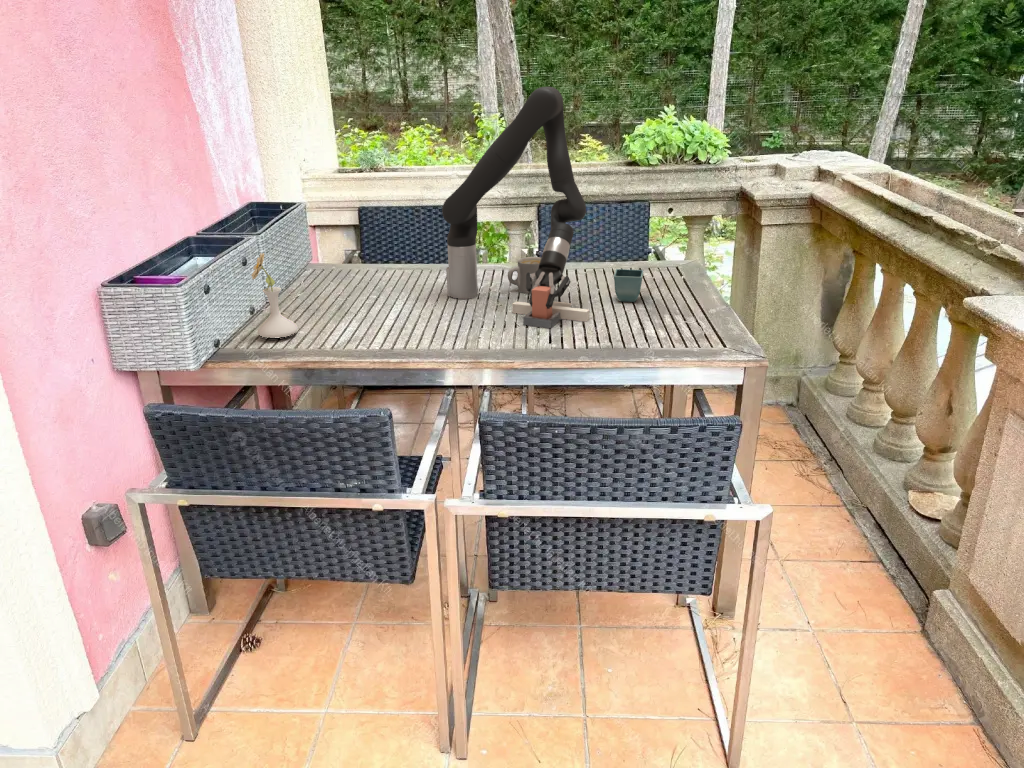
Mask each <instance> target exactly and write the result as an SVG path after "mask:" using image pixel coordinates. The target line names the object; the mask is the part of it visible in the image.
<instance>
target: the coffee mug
mask: <svg viewBox="0 0 1024 768" xmlns="http://www.w3.org/2000/svg"><path fill="white" fill-rule="evenodd" d="M541 257H542V256H541ZM541 257H538V256H529V257H527V256H526V257H522V258H521V257H520V258H518V259H517V266H513V267H510V268H509V269H508V272H507V280H508V282H509V283H510V284H511V285H514V286H516V287H517V291H518V292H520V293H522V292H523V294H529V292H528V291H527V289H526V274H527V273H528V272H529V273H530V274H533V273H535V272H536V271H537V270H538V268H539V263H540V260H541ZM514 272H516V274H517V277H516V279H513V277H512V276H513V273H514ZM536 281H537V278H536V277H535V278H534V281H532V288H533V287H534V285H535V282H536Z"/></svg>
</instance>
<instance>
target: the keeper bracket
mask: <svg viewBox="0 0 1024 768" xmlns="http://www.w3.org/2000/svg"><path fill="white" fill-rule="evenodd" d="M522 320H523V323H522V325H523V326H526V325H527V326H528V327H534V328H535V327H536V328H542V327H543V329H544V328H545V329H552V328H553V327H554V326H556V325H557V324H558V323H559V322H560V321H561V319H560V312H556V313H555V314H554V315H553V316H551V317H550V318H549V319H545V318H537V317H532V311H531V312H529V313H528V314H527V315H524V316H523V317H522Z"/></svg>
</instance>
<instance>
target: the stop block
mask: <svg viewBox="0 0 1024 768" xmlns="http://www.w3.org/2000/svg"><path fill="white" fill-rule="evenodd" d="M550 289H551V288H550V287H545V286H538V287H535V288H534V289H532V317H537V318H545V319H549V318H550V317H551V316H552V307H550V309H547V307H546V303H547V300H548V296H549V294H550Z"/></svg>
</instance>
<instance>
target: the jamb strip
mask: <svg viewBox="0 0 1024 768" xmlns="http://www.w3.org/2000/svg"><path fill="white" fill-rule="evenodd" d="M511 306H512V308H511V310H512V314H516V313H517V315H524V314H525V315H527V314H528V313H529V312H531V311H532V307H531V305H530V303H529V302H524V301H514V302H513V303H512V305H511ZM556 312H560V320H566V319H567V320H569V321H577V322H584V323H585V322H586V323H587V322H588V321H589V320H590V309H586V308H579V307H577V308H576V307H572V303H571V302H570V303H569V302H564V301H562V302H561V301H554V302H553V305H552V316H553V315H554V314H555V313H556ZM525 315H524V316H525ZM567 320H566V321H567Z"/></svg>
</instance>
